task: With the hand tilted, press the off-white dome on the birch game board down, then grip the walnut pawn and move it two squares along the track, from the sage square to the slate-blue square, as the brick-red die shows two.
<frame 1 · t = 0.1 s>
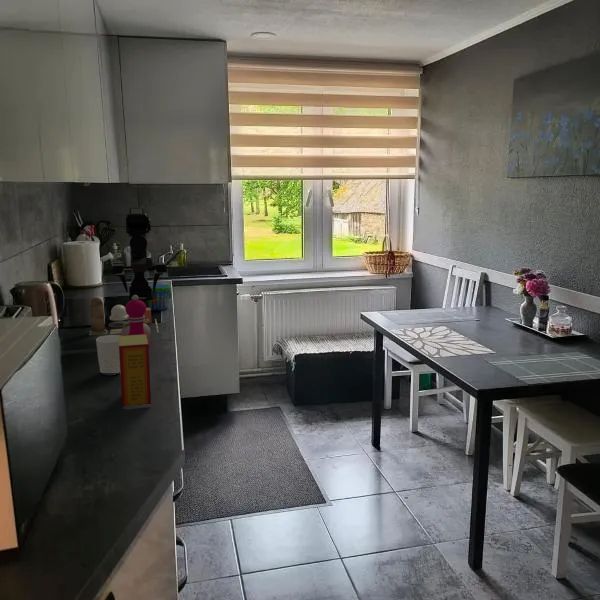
hand: (140, 292, 194), 15 cm above the worktop, tool pointing down, fingers open, 9 cm apart
game board: (122, 329, 199), on the worktop
baking soda box: (136, 402, 132), on the worktop
pawn: (98, 332, 191), point 1 cm above the worktop, touching game board
snack cup: (158, 309, 235), on the worktop
dome: (119, 312, 201), point 6 cm above the worktop, slide at 0.0 cm
pepper mill: (138, 359, 165), on the worktop
die: (144, 324, 207), resting on game board
white cup: (113, 373, 153), on the worktop
decorative fruit: (137, 348, 176), on the worktop
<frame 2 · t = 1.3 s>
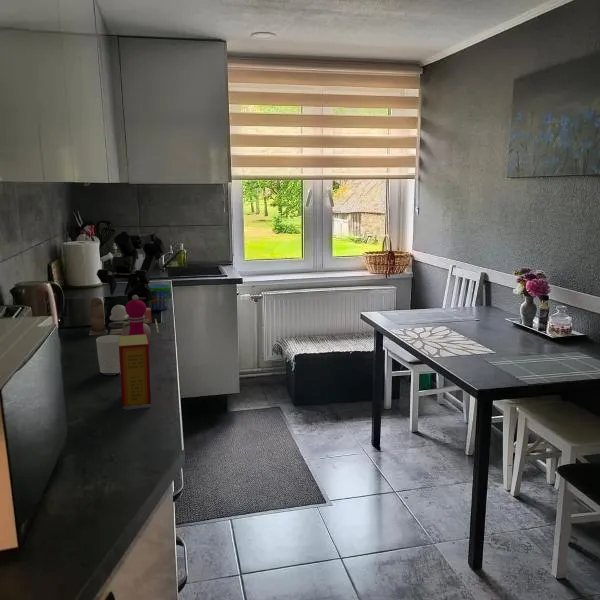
hand: (118, 295, 199), 13 cm above the worktop, tool tilted 45°, fingers open, 5 cm apart
nothing on the worktop moved.
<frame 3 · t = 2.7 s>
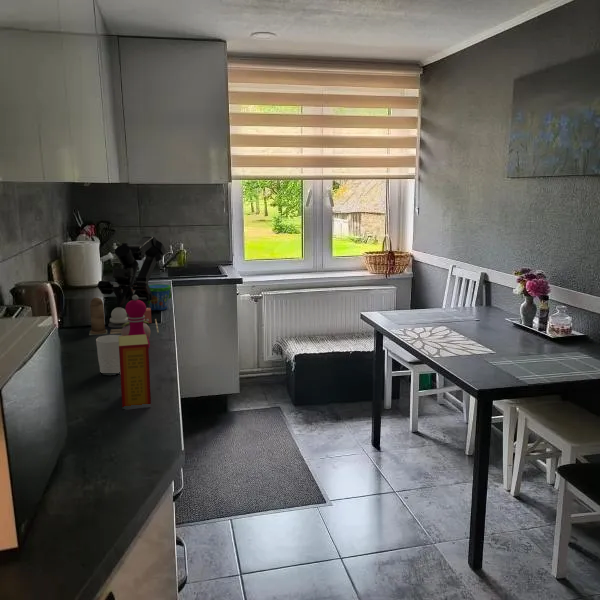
hand: (118, 306, 200), 8 cm above the worktop, tool tilted 45°, fingers closed, pressing on dome
dome: (119, 314, 201), point 5 cm above the worktop, slide at 0.9 cm, touching gripper
everything else where it was.
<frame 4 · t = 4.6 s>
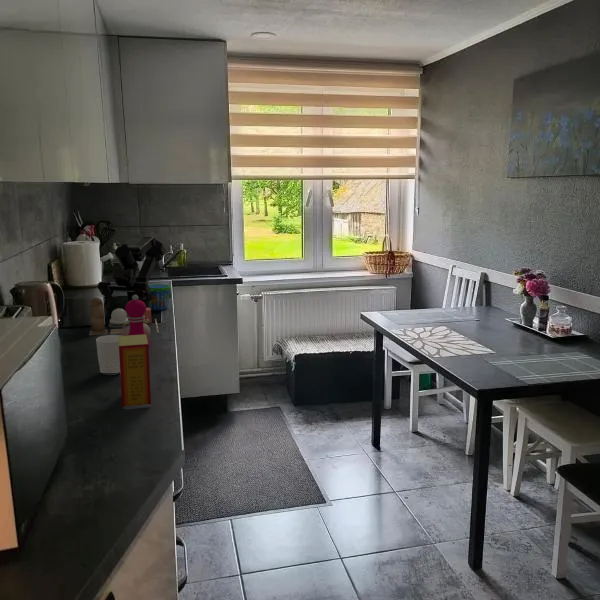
hand: (118, 307, 200), 8 cm above the worktop, tool tilted 45°, fingers open, 9 cm apart
dome: (119, 315, 201), point 5 cm above the worktop, slide at 1.3 cm
everything else where it was.
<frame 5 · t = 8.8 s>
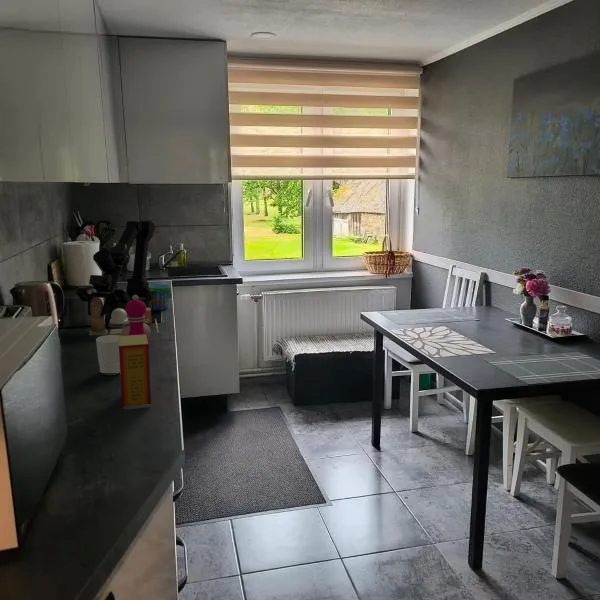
hand: (95, 315, 188), 8 cm above the worktop, tool tilted 45°, fingers closed on pawn, 4 cm apart
pawn: (98, 332, 191), point 1 cm above the worktop, touching game board, gripper
everything else where it was.
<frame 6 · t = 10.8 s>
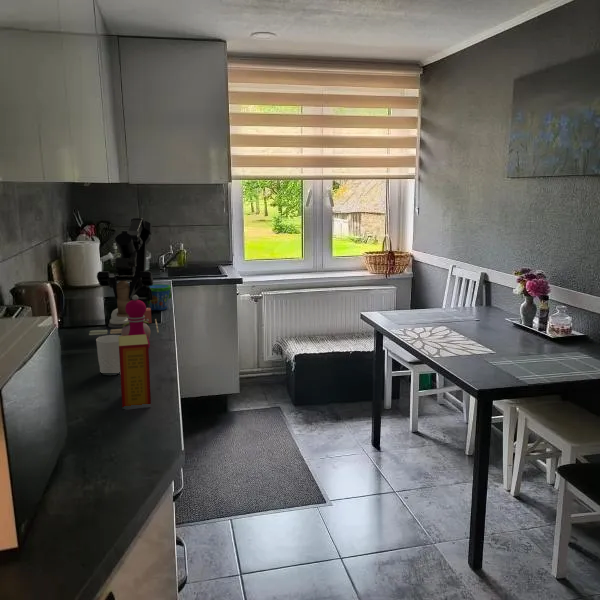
hand: (122, 298, 189), 13 cm above the worktop, tool tilted 45°, fingers closed on pawn, 4 cm apart
pawn: (124, 315, 192), point 7 cm above the worktop, touching gripper
everything else where it was.
when the fingers open (8 cm above the worktop, at t = 12.9 s): pawn stays where it is, resting on game board.
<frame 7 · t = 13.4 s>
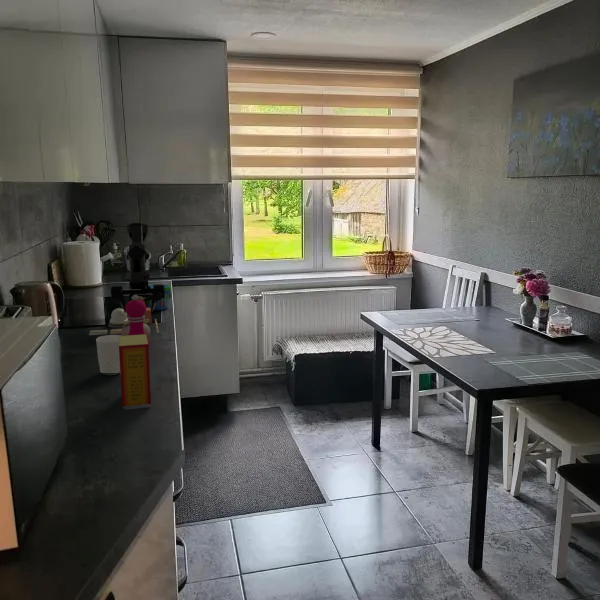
hand: (138, 311, 192), 8 cm above the worktop, tool tilted 45°, fingers open, 9 cm apart
pawn: (139, 329, 195), point 1 cm above the worktop, touching game board
everything else where it was.
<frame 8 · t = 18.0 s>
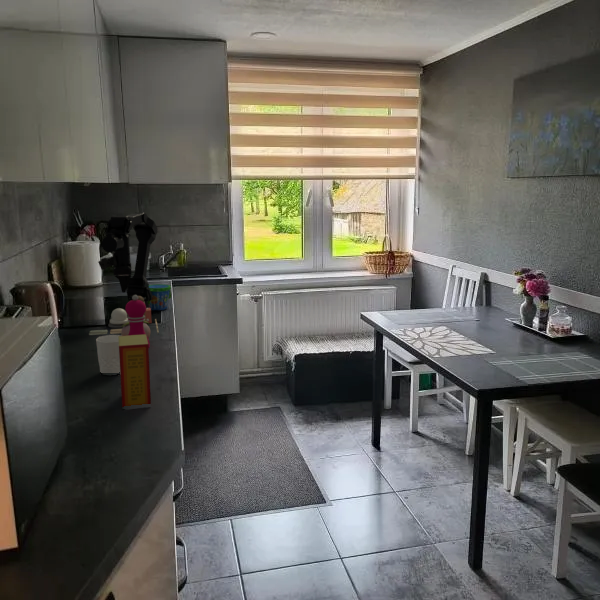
hand: (123, 290, 206), 13 cm above the worktop, tool pointing down, fingers open, 9 cm apart
nothing on the worktop moved.
at the end: pawn 0.0 cm from the target spot, point 1.1 cm above the worktop; pawn tilted 0°; dome slide at 1.3 cm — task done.
